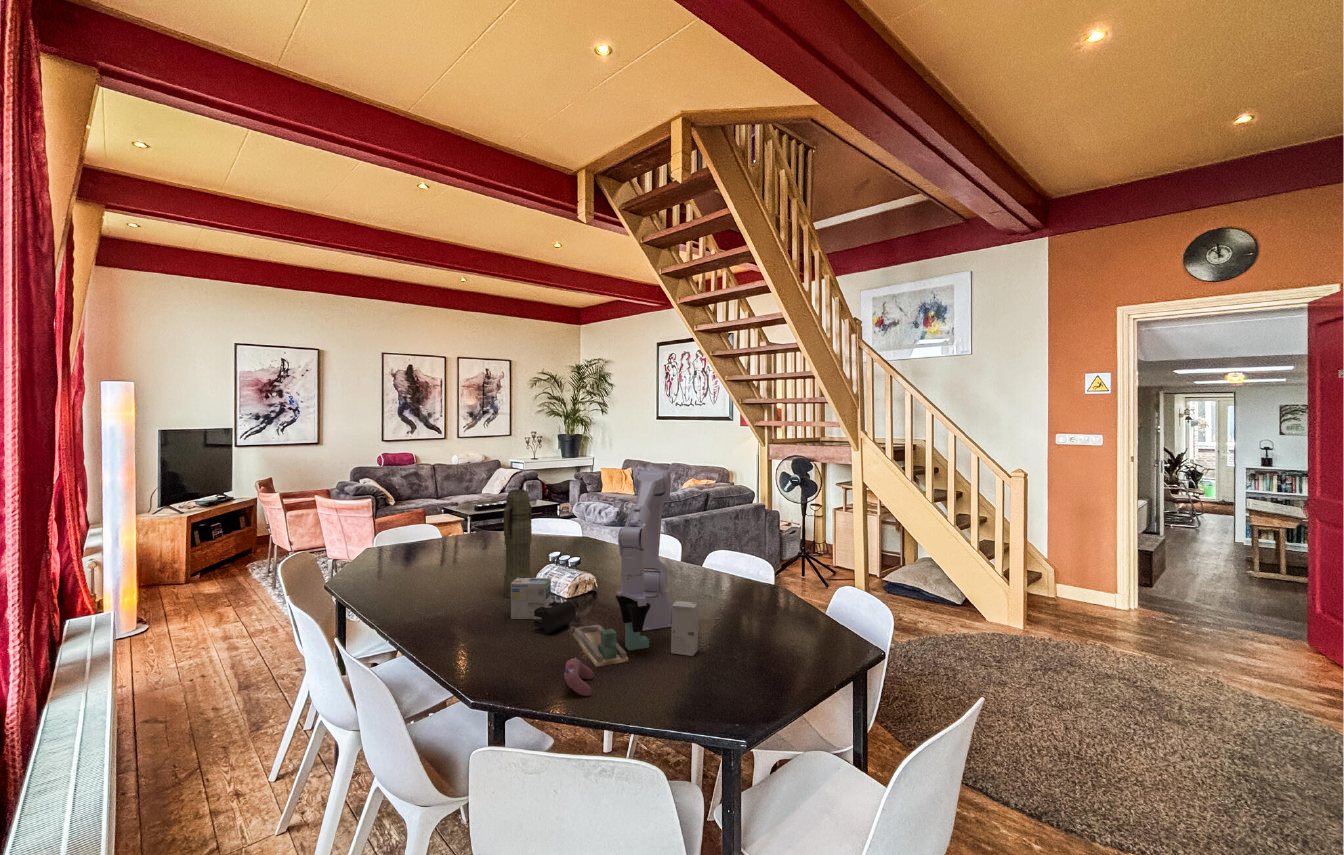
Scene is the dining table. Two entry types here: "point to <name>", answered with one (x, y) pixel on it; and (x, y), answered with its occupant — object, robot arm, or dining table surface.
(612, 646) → the wooden tray
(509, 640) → the dining table surface
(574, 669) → the maroon curved piece
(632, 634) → the teal l-shaped block
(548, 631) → the black lumpy piece
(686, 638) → the skincare box
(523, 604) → the light bulb box
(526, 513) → the thermos
